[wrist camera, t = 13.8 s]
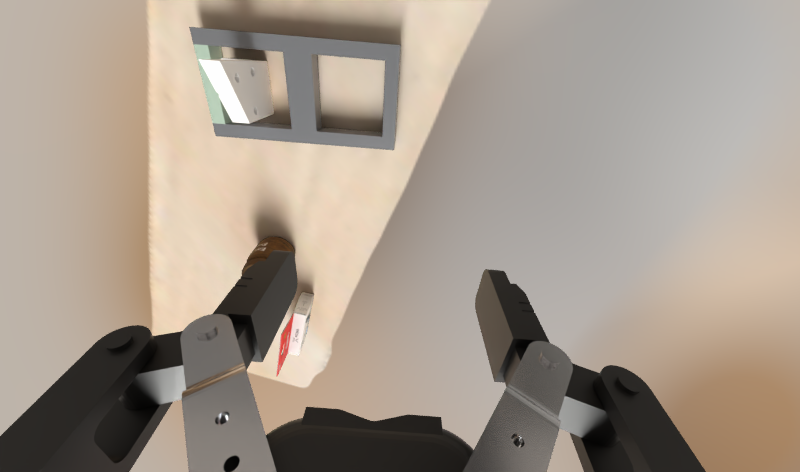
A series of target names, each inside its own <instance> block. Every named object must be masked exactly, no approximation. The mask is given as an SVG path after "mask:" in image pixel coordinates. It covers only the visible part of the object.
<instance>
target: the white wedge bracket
mask: <svg viewBox="0 0 800 472" xmlns="http://www.w3.org/2000/svg"><path fill="white" fill-rule="evenodd" d="M199 61H200V63H201V65H202V67H203V69H204V70H205V72H206V74H207V76H208V78H209V80H210V81H211V83H212V85H213V87H214V89H215V91H216V92H218V94H219V95H218V96H219V98H220V100H221V102H222V104H223V105H224V107H225V109H226V111H227V113H228V115H229V116H230V118H231V120H232V122H236V123H249V124H250V123H253V122H255V121H258V120H260V119H263V118H265V117H268V116H270V115H273V114H274V107H273V100H272V93H271V86H270V78H269V71H268V64H267V61H261V60H249V59H237V58H221V59H199Z"/></svg>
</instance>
